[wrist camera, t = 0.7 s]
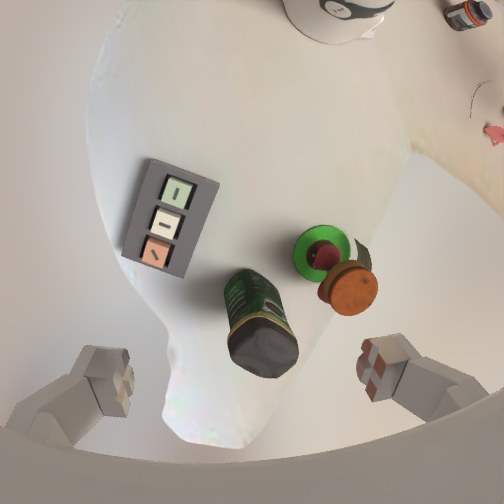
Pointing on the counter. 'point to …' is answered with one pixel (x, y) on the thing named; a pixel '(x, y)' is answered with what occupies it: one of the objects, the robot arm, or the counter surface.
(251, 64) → the counter surface
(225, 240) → the counter surface
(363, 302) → the red green toy sculpture
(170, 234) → the key mid
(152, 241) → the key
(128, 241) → the keypad
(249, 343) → the coffee jar
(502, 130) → the figurine
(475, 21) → the supplement bottle
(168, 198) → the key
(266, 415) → the counter surface
